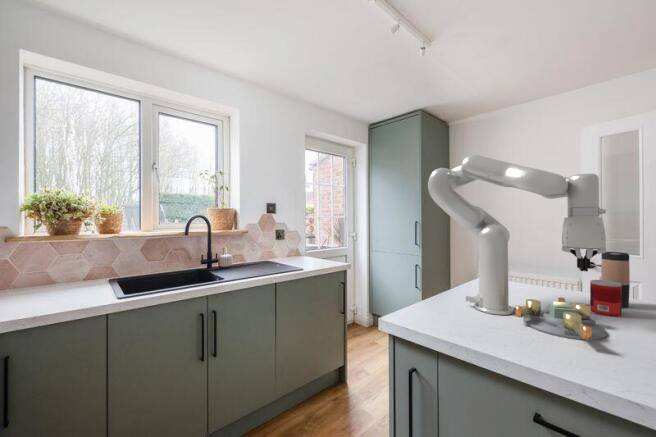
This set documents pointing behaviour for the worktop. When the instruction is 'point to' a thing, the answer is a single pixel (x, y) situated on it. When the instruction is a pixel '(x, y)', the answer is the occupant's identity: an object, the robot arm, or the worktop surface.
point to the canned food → (606, 298)
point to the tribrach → (561, 323)
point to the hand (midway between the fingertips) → (583, 270)
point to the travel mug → (617, 272)
